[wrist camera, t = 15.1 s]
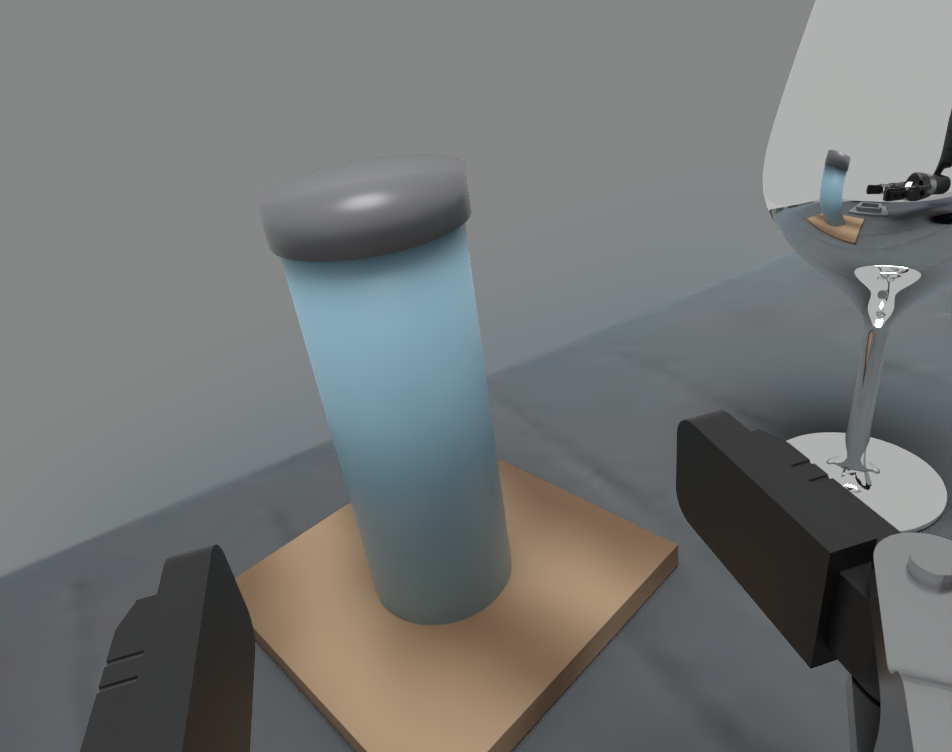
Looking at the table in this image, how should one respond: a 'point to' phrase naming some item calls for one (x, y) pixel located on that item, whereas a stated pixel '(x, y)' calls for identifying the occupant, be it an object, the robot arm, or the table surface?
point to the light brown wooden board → (454, 625)
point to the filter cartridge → (400, 371)
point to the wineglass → (870, 208)
